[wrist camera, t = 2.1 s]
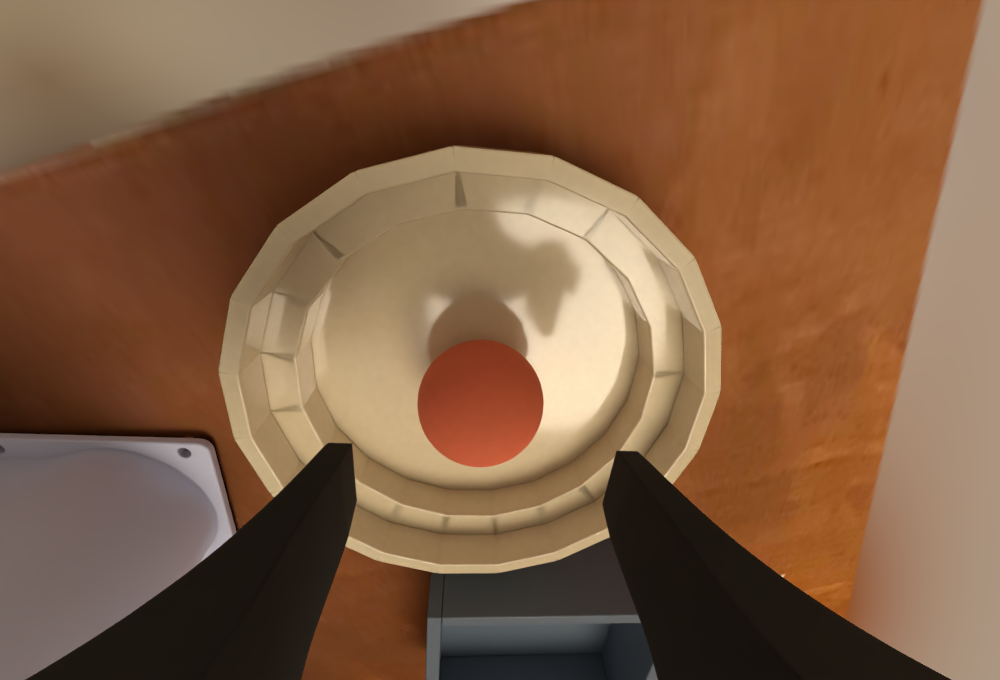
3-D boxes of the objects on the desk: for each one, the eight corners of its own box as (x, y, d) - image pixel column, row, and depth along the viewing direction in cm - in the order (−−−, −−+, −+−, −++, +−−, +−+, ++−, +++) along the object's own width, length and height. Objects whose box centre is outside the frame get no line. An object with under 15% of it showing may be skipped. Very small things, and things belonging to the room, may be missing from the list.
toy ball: (423, 414, 17) (409, 495, 13) (424, 316, 15) (408, 378, 11) (527, 417, 18) (543, 497, 14) (540, 323, 16) (564, 384, 12)
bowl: (297, 505, 20) (265, 574, 17) (233, 122, 13) (156, 117, 10) (626, 509, 21) (653, 573, 18) (729, 170, 14) (801, 179, 11)
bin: (431, 653, 26) (424, 748, 22) (435, 525, 21) (427, 618, 17) (605, 649, 27) (630, 739, 23) (647, 527, 22) (688, 614, 18)
